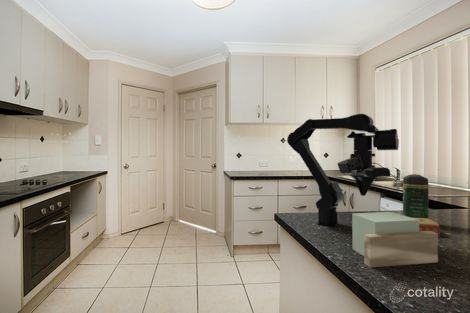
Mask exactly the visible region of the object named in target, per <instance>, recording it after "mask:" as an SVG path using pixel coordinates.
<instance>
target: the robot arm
mask: <svg viewBox="0 0 470 313" xmlns="http://www.w3.org/2000/svg"><path fill="white" fill-rule="evenodd" d="M339 129H341V130H344V129H345V130H350V133H349V134H348V135H347V139H353V153H351V154H350V156H349V158H347V159H344V160H341V161H339V162H337V167H338V170H339V173H340V174H349V177H350V178H353V179H354V180H355V183H356V185H357V188H358V191H359V193H360V196H363V197H365V196H366V195H367V194H368V191H369V189H370V187H371V185H372V184H373V182H375V179H378V177H379V178H385V177H386V178H387V177H388V178H389V177H391V170H390V169H389V168H388V167H381V166H380V167H377V166H376V165H373V157H376V153H373V148H376V150H377V151H398V150H399V147H400V146H399V144H400V139H399V136H398V129H397V128H393V129H392V128H391V129H383V130H381V129H379V128H377V127H376V126H375V125H374V119H373V118H372V117H371V116H370V115H367V114H365V113H356V114H353V115H349V116H345V117H339V118H317V119H312V118H309V119H307V120H305V121H304V123H302V124H301V125H300V126H298V127H297V128H295V130H294V131H293V132H290V133H289V134H288V136H287V139H286V141H287V144H288V145H289V146H290V147H291V149H292V150H294V151H295V153H297V154H298V155H299V156H300V158H301V160H302V161H303V162H304V164H305V166H306V167H307V169H308V171H309V172H310V174H311V176H312V177H313V179H314V180H315V182H316V185H318V191H319V195H320V199H318V200H317V201H316V202H315V206H316V209H317V211H318V212H317V213H318V216H317V218H318V220H317V224H316V225H320V226H327V227H337V225H338V224H339V211H337V207H338V205H339V203H341V202H342V200H343V199H344V193H343V191H344V189H342V188H341V186H340V185H339V183H338V181H334V182H333V181H332V180H331V179H329V177H328V176H327V174H326V172H325V171H324V169H323V168H322V166H321V165H320V163H319V161H318V160H317V158H316V156H315V155H314V154H313V152H312V151H311V150H312V149H311V147H310V141H309V139H310V138H311V137H312V135H313V133H314V132H315V131H316V130H339ZM356 131H357V132H356ZM366 133H368V134H370V135H366ZM350 173H351V174H350Z"/></svg>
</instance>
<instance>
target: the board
mask: <svg viewBox="0 0 470 313" xmlns="http://www.w3.org/2000/svg"><path fill="white" fill-rule="evenodd" d="M438 237H439V236H438V233H435V232H432V231H420V232H402V233H384V234H366V235H364V256H363V257H364V258H363V259H364V261H363V262H364V265H365V266H367V267H368V268H378V267H379V268H380V267H394V266H405V265H419V264H421V265H422V264H431V263H432V264H433V263H438V262H439V253H438V252H439V246H438V245H439V241H438V240H439V238H438Z"/></svg>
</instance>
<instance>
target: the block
mask: <svg viewBox="0 0 470 313" xmlns="http://www.w3.org/2000/svg"><path fill="white" fill-rule="evenodd" d="M351 218H352V219H351V220H352V223H351V224H352V228H351V229H352V231H351V232H352V250H353V251H355V252H356V253H358V254H360V255H362V256H363V257H364V235H366V234H384V233H402V232H419V220H417V219H414V218H410V217H407V216H404V215H403V214H399V213H397V212H393V211H383V212H382V211H380V212H358V213H356V212H355V213H352V217H351Z"/></svg>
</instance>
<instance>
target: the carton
mask: <svg viewBox="0 0 470 313" xmlns="http://www.w3.org/2000/svg"><path fill="white" fill-rule="evenodd" d="M414 219H417V220H419V232H420V231H432V232H435V233H438V237H440V234H441V232H440V231H441V230H440V224H438V223H437V222H436V221H434V220H432V219H430V218H428V219H427V218H414Z"/></svg>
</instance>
